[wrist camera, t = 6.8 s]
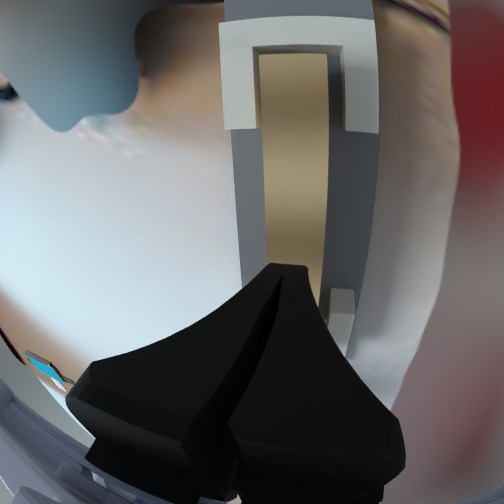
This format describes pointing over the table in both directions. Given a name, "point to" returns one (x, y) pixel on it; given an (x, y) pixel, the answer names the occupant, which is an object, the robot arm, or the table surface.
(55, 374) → the phone stand
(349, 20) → the cradle
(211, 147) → the table surface
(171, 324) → the table surface
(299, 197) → the slat
